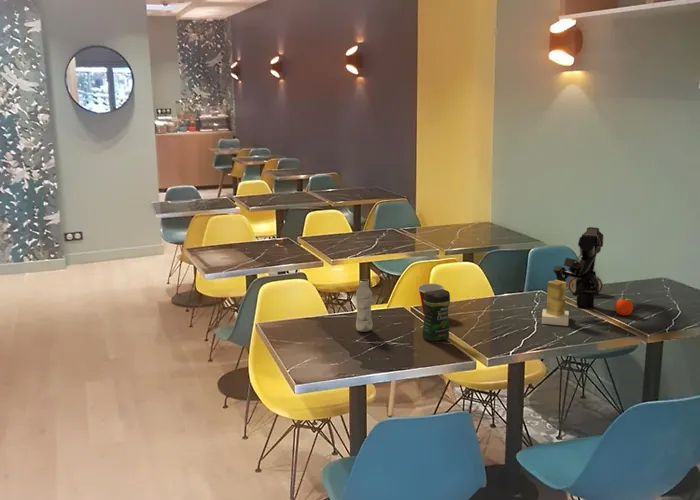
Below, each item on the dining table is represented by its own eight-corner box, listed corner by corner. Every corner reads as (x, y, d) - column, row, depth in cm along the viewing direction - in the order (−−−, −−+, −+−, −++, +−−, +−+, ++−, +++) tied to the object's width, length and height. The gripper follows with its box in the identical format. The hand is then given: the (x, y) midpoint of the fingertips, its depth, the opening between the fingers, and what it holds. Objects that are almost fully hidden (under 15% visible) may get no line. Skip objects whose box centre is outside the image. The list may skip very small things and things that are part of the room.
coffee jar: (431, 343, 259) (432, 294, 255) (419, 337, 266) (419, 289, 262) (452, 339, 264) (454, 291, 260) (440, 333, 271) (441, 286, 267)
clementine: (632, 312, 293) (633, 296, 292) (637, 318, 286) (638, 301, 285) (612, 312, 294) (613, 295, 292) (616, 317, 287) (618, 300, 286)
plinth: (568, 318, 287) (568, 310, 286) (568, 325, 278) (568, 318, 277) (542, 316, 290) (542, 308, 289) (541, 323, 281) (542, 316, 280)
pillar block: (554, 310, 287) (556, 279, 284) (564, 313, 283) (566, 282, 280) (546, 313, 284) (547, 281, 281) (556, 316, 280) (558, 284, 277)
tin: (600, 293, 321) (602, 275, 320) (602, 295, 318) (603, 277, 317) (566, 292, 323) (567, 274, 321) (568, 294, 320) (569, 276, 318)
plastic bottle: (374, 329, 276) (374, 279, 271) (369, 334, 270) (369, 283, 265) (358, 327, 278) (358, 277, 274) (353, 332, 272) (353, 282, 267)
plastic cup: (413, 317, 289) (414, 289, 287) (421, 310, 299) (422, 282, 296) (440, 320, 285) (440, 291, 283) (446, 312, 295) (447, 284, 292)
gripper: (556, 246, 292) (537, 276, 288) (596, 254, 277) (576, 286, 273) (568, 262, 298) (549, 292, 294) (606, 271, 283) (587, 302, 279)
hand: (565, 292), depth 285 cm, fingers open, 9 cm apart
